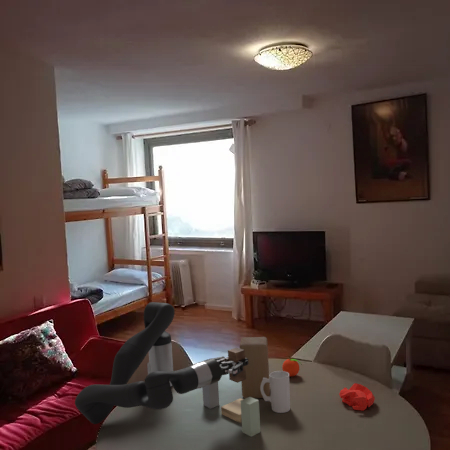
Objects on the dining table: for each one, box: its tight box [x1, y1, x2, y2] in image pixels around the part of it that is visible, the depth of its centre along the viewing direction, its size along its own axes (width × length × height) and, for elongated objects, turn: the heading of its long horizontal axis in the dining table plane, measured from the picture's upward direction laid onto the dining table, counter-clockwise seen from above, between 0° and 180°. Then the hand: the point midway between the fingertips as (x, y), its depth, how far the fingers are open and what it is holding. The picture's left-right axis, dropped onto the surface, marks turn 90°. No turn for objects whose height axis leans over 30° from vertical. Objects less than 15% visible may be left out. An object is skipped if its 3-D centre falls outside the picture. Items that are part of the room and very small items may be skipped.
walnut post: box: [227, 347, 246, 383], centre depth 152 cm, size 4×4×10 cm
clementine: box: [281, 358, 303, 378], centre depth 183 cm, size 8×7×7 cm
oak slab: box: [220, 397, 244, 424], centre depth 153 cm, size 9×9×3 cm
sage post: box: [241, 397, 261, 437], centre depth 140 cm, size 4×4×10 cm
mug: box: [260, 370, 291, 414], centre depth 155 cm, size 10×7×12 cm, turn 82°
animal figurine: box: [339, 382, 376, 411], centre depth 158 cm, size 12×15×5 cm
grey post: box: [201, 381, 220, 410], centre depth 161 cm, size 4×4×10 cm
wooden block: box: [239, 336, 271, 399], centre depth 168 cm, size 10×10×20 cm
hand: (242, 359), depth 154 cm, fingers closed on walnut post, 4 cm apart
